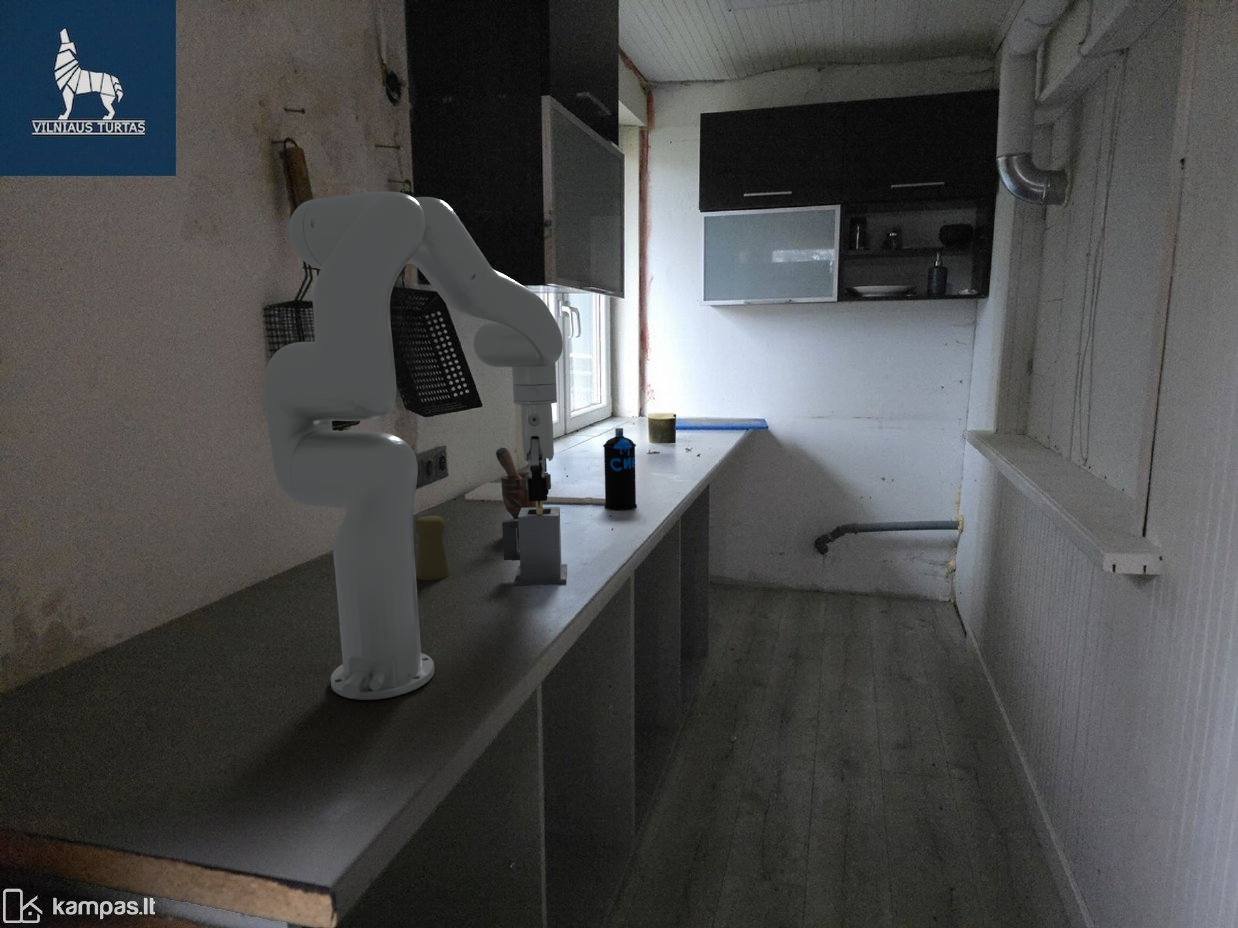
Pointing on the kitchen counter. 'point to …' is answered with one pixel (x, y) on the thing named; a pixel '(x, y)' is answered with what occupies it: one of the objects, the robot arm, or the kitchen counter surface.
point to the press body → (535, 546)
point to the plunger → (540, 503)
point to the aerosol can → (620, 472)
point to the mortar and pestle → (513, 486)
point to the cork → (431, 549)
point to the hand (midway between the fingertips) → (538, 496)
